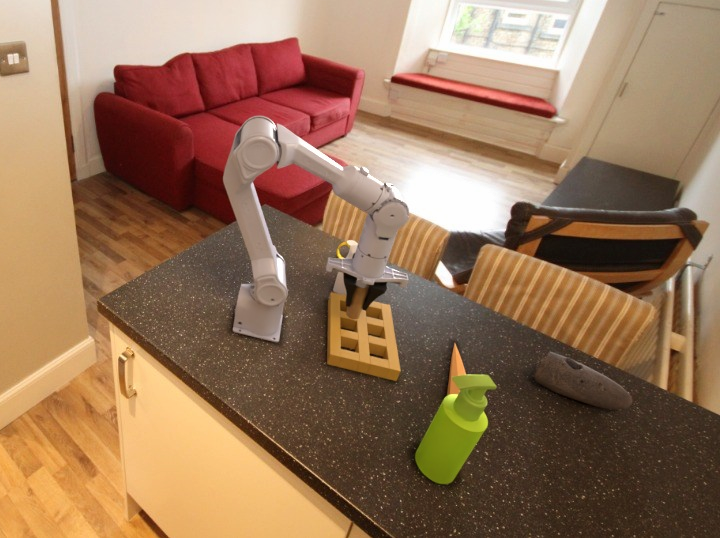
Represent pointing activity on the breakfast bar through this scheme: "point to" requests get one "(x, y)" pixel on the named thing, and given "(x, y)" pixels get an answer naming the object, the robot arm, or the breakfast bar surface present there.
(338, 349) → the peg block
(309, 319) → the breakfast bar surface
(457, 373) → the carrot
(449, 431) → the soap dispenser
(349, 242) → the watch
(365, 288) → the peg
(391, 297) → the breakfast bar surface
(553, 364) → the perforated stone tool
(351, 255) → the medicine bottle
